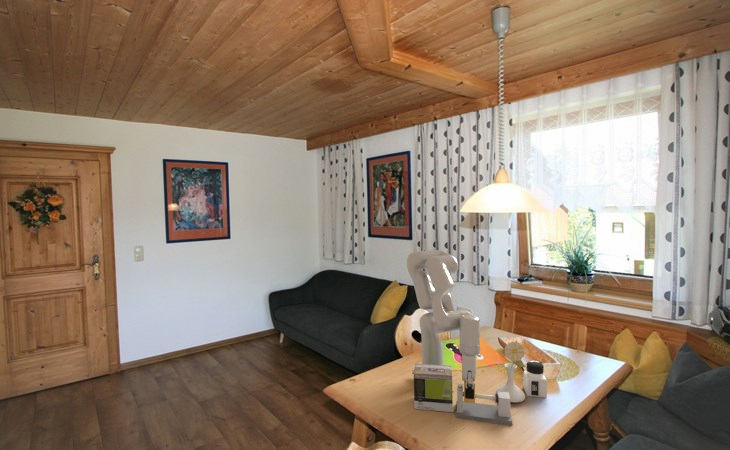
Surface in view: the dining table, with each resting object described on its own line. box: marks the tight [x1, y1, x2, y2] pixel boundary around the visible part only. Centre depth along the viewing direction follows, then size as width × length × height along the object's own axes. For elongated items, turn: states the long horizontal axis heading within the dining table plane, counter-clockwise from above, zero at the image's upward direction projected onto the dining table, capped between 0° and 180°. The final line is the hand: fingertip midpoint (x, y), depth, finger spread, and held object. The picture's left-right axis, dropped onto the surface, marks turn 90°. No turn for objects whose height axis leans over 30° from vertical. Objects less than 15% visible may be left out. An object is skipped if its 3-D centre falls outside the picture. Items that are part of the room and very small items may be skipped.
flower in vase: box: [495, 340, 526, 403], centre depth 154 cm, size 13×11×25 cm
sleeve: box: [463, 378, 476, 404], centre depth 144 cm, size 4×4×8 cm
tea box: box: [413, 363, 454, 413], centre depth 150 cm, size 15×10×15 cm, turn 78°
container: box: [522, 360, 548, 399], centre depth 159 cm, size 8×8×13 cm
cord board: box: [455, 382, 513, 426], centre depth 143 cm, size 20×10×10 cm, turn 75°
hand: (469, 392), depth 144 cm, fingers open, 7 cm apart
